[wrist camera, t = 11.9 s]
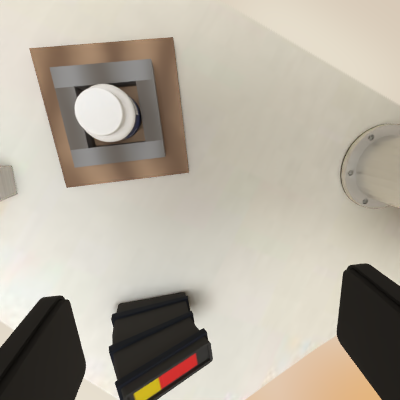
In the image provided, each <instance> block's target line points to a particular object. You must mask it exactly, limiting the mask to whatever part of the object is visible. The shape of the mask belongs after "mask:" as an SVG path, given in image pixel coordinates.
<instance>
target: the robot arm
mask: <svg viewBox="0 0 400 400" xmlns="http://www.w3.org/2000/svg"><path fill="white" fill-rule="evenodd" d="M341 177H342V184H343V188H344V190H345V192H346V194H347V196H348V197H349V198H350V199H351V200H352V201H354V202H355V203H356V204H359V205H361V206H363V207H367V208H374V209H378V208H384V207H387V206H390V205H392V206H394V207H397V208H400V125H399V124H385V125H380V126H377V127H374V128H372V129H370V130H368V131H366V132H365V133H364V134H362V135H361V136H360V137H359V138H358V139H357V140H356V141H355V142H354V143H353V144H352V146H351V147H350V149H349V150H348V152H347V154H346V156H345V159H344V162H343V165H342V173H341ZM337 337H338V339H339V342H340V344H341V345H342V346H343V348H344V349H345V350H346V352H347V353H348V355H349V356H350V357H351V359H352V360H353V361H354V363H355V364H356V365H357V367H358V368H359V369H360V371H361V372H362V373H363V375H364V376H365V378H366V379H367V380H368V382H369V383H370V384H371V386H372V387H373V388H374V390H375V391H376V392H377V394H378V395H379V396H380V398H381V399H382V400H400V286H399V285H397V284H396V283H395V282H393V281H392V280H390V279H389V278H388V277H386V276H385V275H383V274H382V273H381V272H379V271H378V270H377V269H375V268H374V267H372V266H371V265H369V264H357V265H350V266H348V268H347V270H345V271H344V272H343V279H342V288H341V297H340V307H339V316H338V325H337ZM85 369H86V362H85V358H84V354H83V350H82V346H81V342H80V339H79V335H78V331H77V327H76V323H75V319H74V316H73V312H72V308H71V304H70V301H69V300H65V298H64V297H63V296H51V297H43V298H41V299H40V300H39V301H38V302H37V304H36V305H35V306H34V307H33V309H32V310H31V311H30V312H29V313H28V315H27V316H26V317H25V318H24V319H23V321H22V322H21V323H20V324H19V326H18V327H17V328H16V329H15V330H14V332H13V333H12V334H11V335H10V337H9V338H8V339H7V340H6V342H5V343H4V344H3V345H2V346H1V348H0V400H75V397H76V395H77V392H78V389H79V387H80V385H81V382H82V379H83V377H84V374H85Z"/></svg>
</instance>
